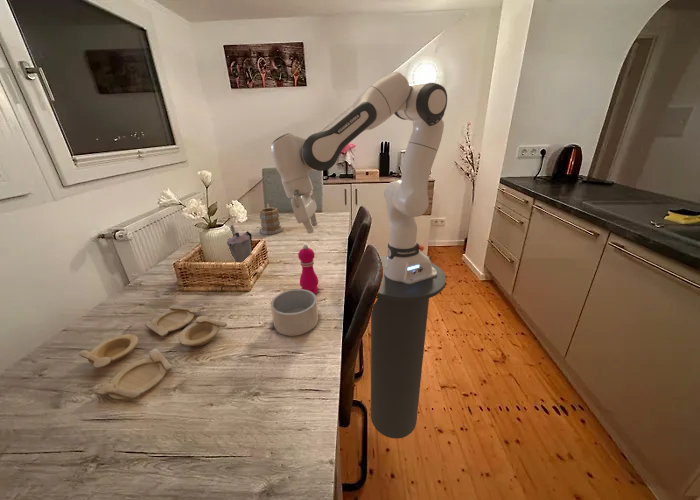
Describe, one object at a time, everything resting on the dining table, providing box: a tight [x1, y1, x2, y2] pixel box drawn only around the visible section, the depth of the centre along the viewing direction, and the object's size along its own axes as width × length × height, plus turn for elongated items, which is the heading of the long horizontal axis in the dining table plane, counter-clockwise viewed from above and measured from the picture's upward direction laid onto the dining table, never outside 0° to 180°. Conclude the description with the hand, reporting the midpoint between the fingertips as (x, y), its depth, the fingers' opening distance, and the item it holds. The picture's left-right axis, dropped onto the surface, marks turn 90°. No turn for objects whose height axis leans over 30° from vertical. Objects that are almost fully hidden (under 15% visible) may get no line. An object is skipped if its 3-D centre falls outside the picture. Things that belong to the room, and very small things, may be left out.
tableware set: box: [78, 304, 228, 400], centre depth 84 cm, size 35×29×4 cm
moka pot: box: [226, 230, 253, 263], centre depth 122 cm, size 10×15×20 cm, turn 170°
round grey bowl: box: [270, 288, 319, 337], centre depth 93 cm, size 15×15×8 cm
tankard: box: [259, 203, 283, 236], centre depth 178 cm, size 20×13×15 cm, turn 13°
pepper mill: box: [297, 244, 319, 295], centre depth 107 cm, size 7×7×20 cm
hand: (313, 229), depth 93 cm, fingers open, 8 cm apart
